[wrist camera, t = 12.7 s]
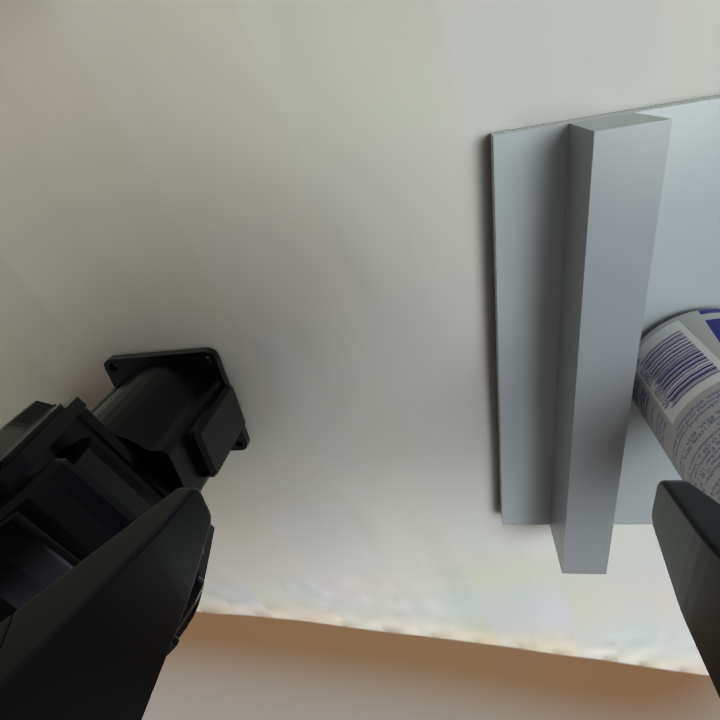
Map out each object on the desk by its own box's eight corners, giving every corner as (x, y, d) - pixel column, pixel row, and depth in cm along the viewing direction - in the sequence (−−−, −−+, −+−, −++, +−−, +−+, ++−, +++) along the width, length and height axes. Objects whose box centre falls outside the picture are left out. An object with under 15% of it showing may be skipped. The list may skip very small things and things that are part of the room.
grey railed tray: (500, 510, 27) (509, 572, 24) (490, 133, 17) (503, 145, 14) (826, 508, 24) (891, 579, 20) (1042, 40, 14) (1238, 27, 11)
